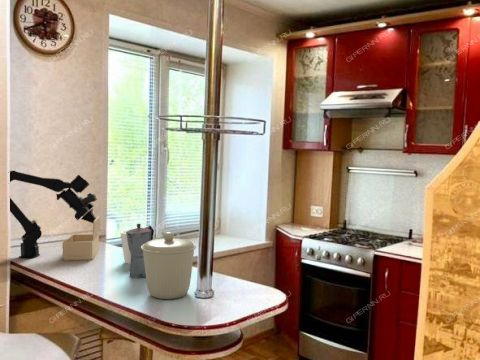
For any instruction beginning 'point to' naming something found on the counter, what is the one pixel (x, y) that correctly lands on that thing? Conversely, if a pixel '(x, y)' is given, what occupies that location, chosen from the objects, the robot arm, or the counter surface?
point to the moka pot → (138, 249)
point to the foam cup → (125, 247)
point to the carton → (80, 247)
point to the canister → (168, 266)
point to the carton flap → (96, 227)
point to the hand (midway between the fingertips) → (97, 223)
